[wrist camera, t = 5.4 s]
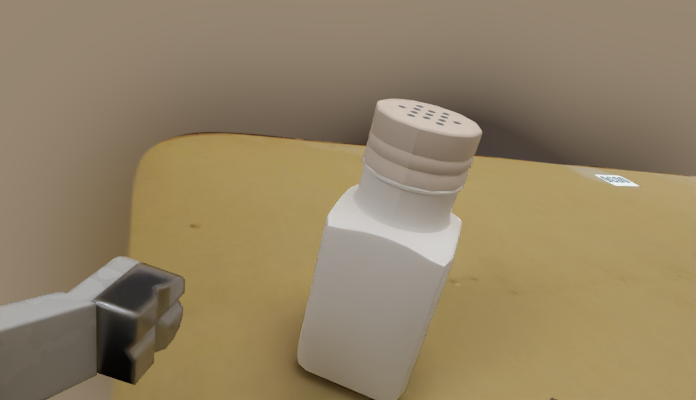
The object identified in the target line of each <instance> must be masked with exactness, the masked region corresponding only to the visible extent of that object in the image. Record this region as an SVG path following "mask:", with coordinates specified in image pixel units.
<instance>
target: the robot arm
mask: <svg viewBox="0 0 696 400" xmlns="http://www.w3.org/2000/svg"><path fill="white" fill-rule="evenodd" d="M184 292H185V279H184V278H183V277H182V276H180V275H177V274H174V273H171V272H168V271H166V270H163V269H160V268H157V267H154V266H151V265H149V264H146V263H141V262H139V261H136V260H133V259H131V258H128V257H125V256H119V257H116V258H114V259H113V260H112V261H110V262H109V263H107V264H106V265H105V266H103V267H102V268H101V269H99V270H98V271H97V272H95V273H94V274H92V275H91V276H90V277H88V278H87V279H86V280H84V281H83V282H82V283H81V284H79V285H78V286H76V287H75V288H73V289H72V290H71V291H70V292H68V293H67V294H66V293H62V292H57V293H52V294H48V295H44V296H40V297H35V298H32V299H27V300H23V301H19V302H15V303H10V304H6V305H2V306H0V400H46V399H48V398H50V397H52V396H54V395H56V394H58V393H61V392H63V391H64V390H67V389H69V388H71V387H73V386H75V385H77V384H79V383H81V382H83V381H85V380H87V379H89V378H92V377H94V376H96V375H97V373H99V374H103V375H106V376H109V377H112V378H115V379H118V380H121V381H124V382H127V383H130V384H133V385H135V384H136V383H137V382H138V381H139V379H140V378H141V377H142V376H143V375H144V374H145V372H146V371H147V370H148V369H149V368H150V367H151V365H152V364H153V363H154V353H155V352H158V351H161V350H163V349H166V348H167V346H168V345H169V344H170V343H171V341H172V340H173V339H174V337H175V335H176V333H177V331H178V329H179V327H180V323H181V320H182V315H183V307H182V305H181V303H180V302H179V300H178V299H179V298H180V297H181V296H182V295H183V293H184ZM550 400H557V399H554V398H551V399H550Z"/></svg>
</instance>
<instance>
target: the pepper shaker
mask: <svg viewBox="0 0 696 400" xmlns="http://www.w3.org/2000/svg"><path fill="white" fill-rule="evenodd" d="M481 135H482V130H481V129H480V128H479V126H478V125H477V123H475V122H474V121H472V120H470V119H468V118H466V117H464V116H462V115H461V114H458V113H456V112H453V111H450V110H447V109H444V108H441V107H438V106H435V105H431V104H426V103H422V102H418V101H413V100H404V99H394V98H391V99H386V100H380V101H378V102H377V105H376V109H375V113H374V117H373V121H372V127H371V129H370V133H369V140H368V142H367V145H366V149H365V154H364V156H363V158H362V163H363V166H364V167H363V171H362V175H361V179H360V183H359V184H357V185H355V186H353V187H351V188H349V189H348V190H347V191H346V192H345V193H344V194H343V195H342V196H341V198H340V199H339V200H338V201H337V203H336V204H335V205H334V207H333V208H332V210H331V211H330V213H329V214H328V216H327V218H326V222H325V226H324V231H323V235H322V240H321V244H320V249H319V253H318V258H317V262H316V267H315V271H314V275H313V280H312V284H311V289H310V293H309V298H308V302H307V307H306V311H305V316H304V320H303V325H302V329H301V334H300V338H299V343H298V347H297V358H298V364H299V365H301V366H302V367H303V368H304V369H305V370H306V371H308V372H311V373H313V374H316V375H318V376H320V377H323V378H325V379H327V380H330V381H332V382H334V383H337V384H339V385H342V386H344V387H346V388H349V389H351V390H353V391H356V392H358V393H361V394H363V395H365V396H368V397H370V398H372V399H375V400H397V399H398V398H399V397H400V396H401V395H402V394H403V393H404V392H405V390H406V388H407V385H408V382H409V379H410V377H411V374H412V371H413V369H414V366H415V363H416V360H417V358H418V355H419V352H420V350H421V347H422V344H423V342H424V339H425V336H426V333H427V331H428V328H429V325H430V323H431V320H432V317H433V314H434V312H435V309H436V306H437V304H438V301H439V298H440V295H441V293H442V290H443V287H444V285H445V282H446V279H447V276H448V274H449V271H450V268H451V266H452V263H453V259H454V256H455V252H456V248H457V244H458V240H459V236H460V231H461V223H462V221H461V219H460V218H458V217H457V216H455V215H454V214H453V213H452V212H451V211H452V208H453V205H454V202H455V199H456V197H457V194H458V192H460V191H461V190H462V189H463V187H464V184H465V181H466V178H467V175H468V172H469V171H468V169H469V168H470V167H471V164H472V161H473V155H475V153H476V150H477V147H478V144H479V141H480V138H481Z"/></svg>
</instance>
